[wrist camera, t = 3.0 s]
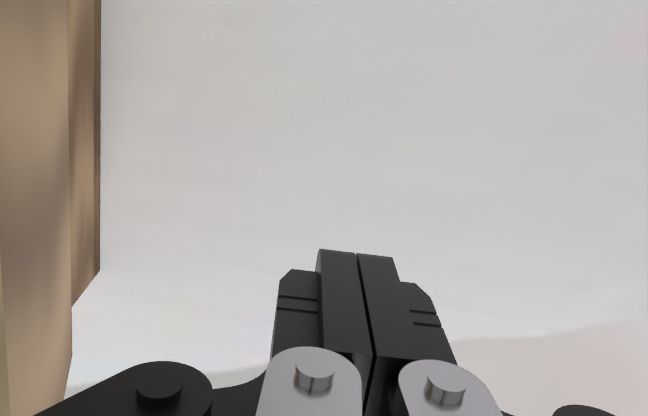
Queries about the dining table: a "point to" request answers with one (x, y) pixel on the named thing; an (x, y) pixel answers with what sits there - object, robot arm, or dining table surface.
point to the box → (84, 140)
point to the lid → (34, 207)
